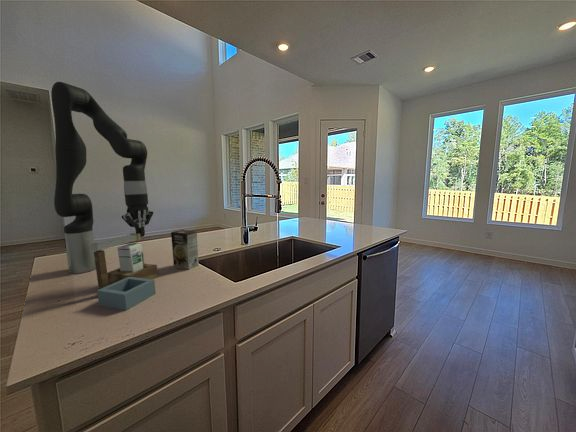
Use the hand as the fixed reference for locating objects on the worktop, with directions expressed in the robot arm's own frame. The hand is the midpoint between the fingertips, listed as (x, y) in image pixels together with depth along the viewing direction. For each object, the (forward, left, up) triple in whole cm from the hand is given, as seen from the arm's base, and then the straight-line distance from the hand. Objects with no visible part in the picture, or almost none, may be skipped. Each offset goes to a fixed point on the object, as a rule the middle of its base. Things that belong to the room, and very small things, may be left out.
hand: (140, 236), depth 96 cm
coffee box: (+9, +14, -17) cm, 24 cm away
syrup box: (0, -5, -17) cm, 17 cm away
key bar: (0, -10, -1) cm, 10 cm away
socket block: (0, -8, -17) cm, 19 cm away
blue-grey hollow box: (+11, -17, -16) cm, 26 cm away
